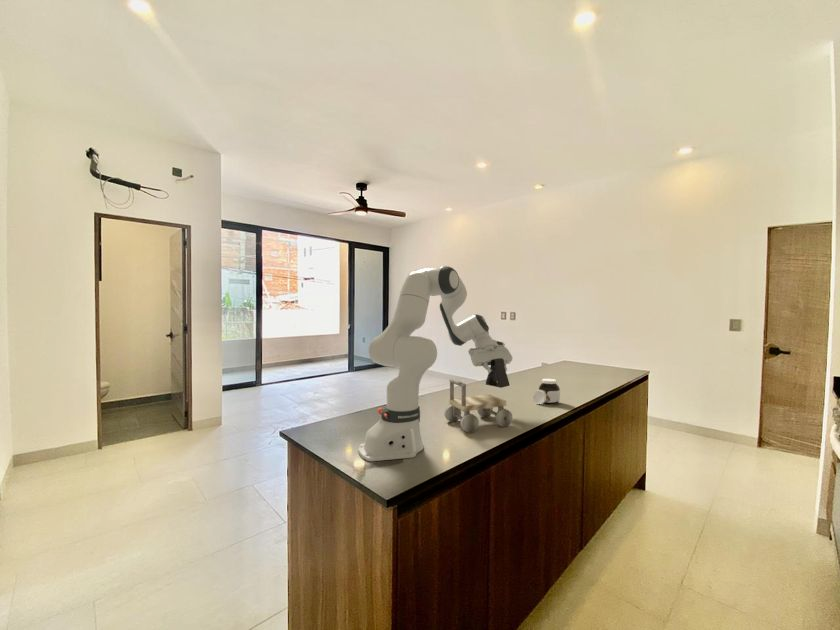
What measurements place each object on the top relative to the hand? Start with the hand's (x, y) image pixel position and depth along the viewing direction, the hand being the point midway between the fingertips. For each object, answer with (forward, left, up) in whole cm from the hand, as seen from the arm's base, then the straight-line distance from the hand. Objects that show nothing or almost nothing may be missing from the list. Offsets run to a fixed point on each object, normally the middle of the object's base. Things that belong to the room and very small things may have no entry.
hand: (498, 371), depth 161 cm
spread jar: (+33, +6, -20) cm, 38 cm away
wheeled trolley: (-15, -7, -19) cm, 26 cm away
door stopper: (0, +1, -7) cm, 7 cm away
